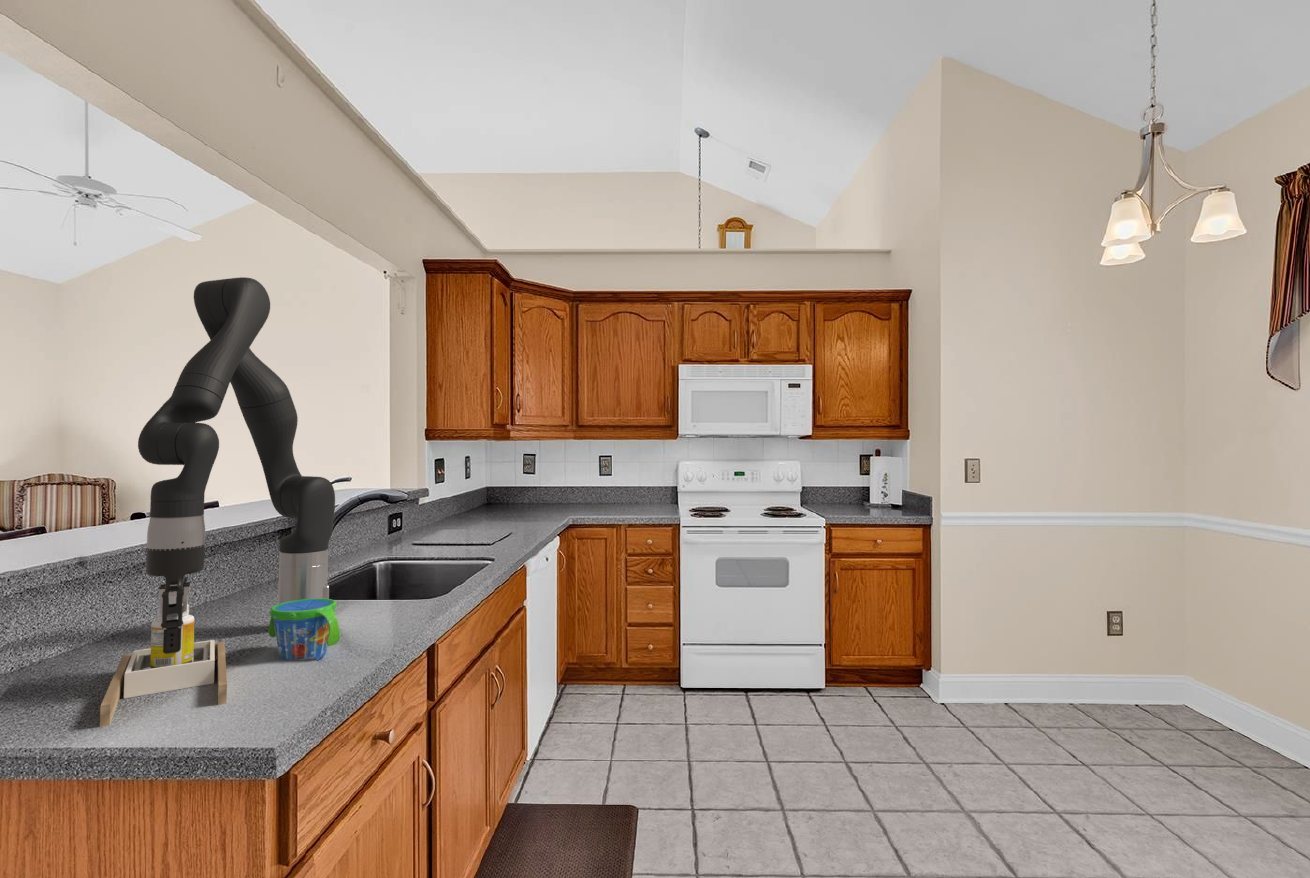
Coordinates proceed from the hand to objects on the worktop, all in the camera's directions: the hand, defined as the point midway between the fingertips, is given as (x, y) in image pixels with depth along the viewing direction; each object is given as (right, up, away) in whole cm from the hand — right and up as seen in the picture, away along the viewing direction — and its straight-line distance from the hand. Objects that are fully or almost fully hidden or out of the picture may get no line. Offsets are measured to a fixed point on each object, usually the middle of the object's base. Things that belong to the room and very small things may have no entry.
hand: (173, 646), depth 100 cm
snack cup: (+13, -7, +14) cm, 20 cm away
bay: (+2, -6, -3) cm, 8 cm away
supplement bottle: (0, -4, 0) cm, 4 cm away
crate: (0, -5, 0) cm, 5 cm away
